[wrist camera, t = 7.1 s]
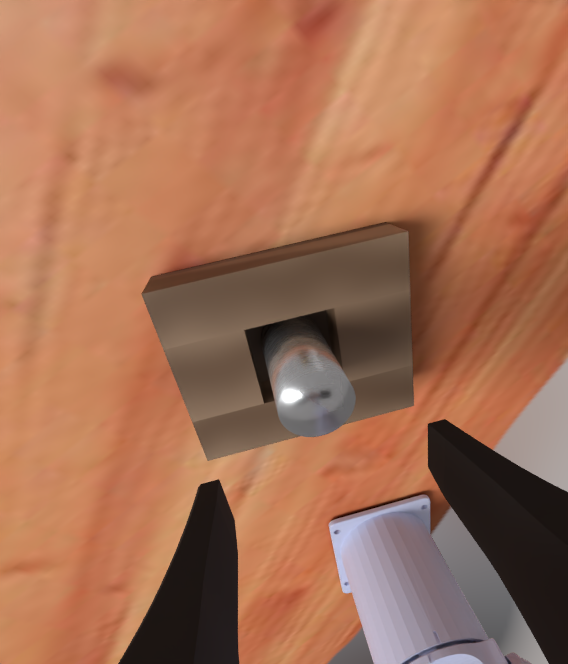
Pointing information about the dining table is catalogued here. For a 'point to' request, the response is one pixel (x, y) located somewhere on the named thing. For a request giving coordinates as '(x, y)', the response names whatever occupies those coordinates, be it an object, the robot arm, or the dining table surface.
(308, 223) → the dining table surface
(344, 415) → the pin
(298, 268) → the bore block
